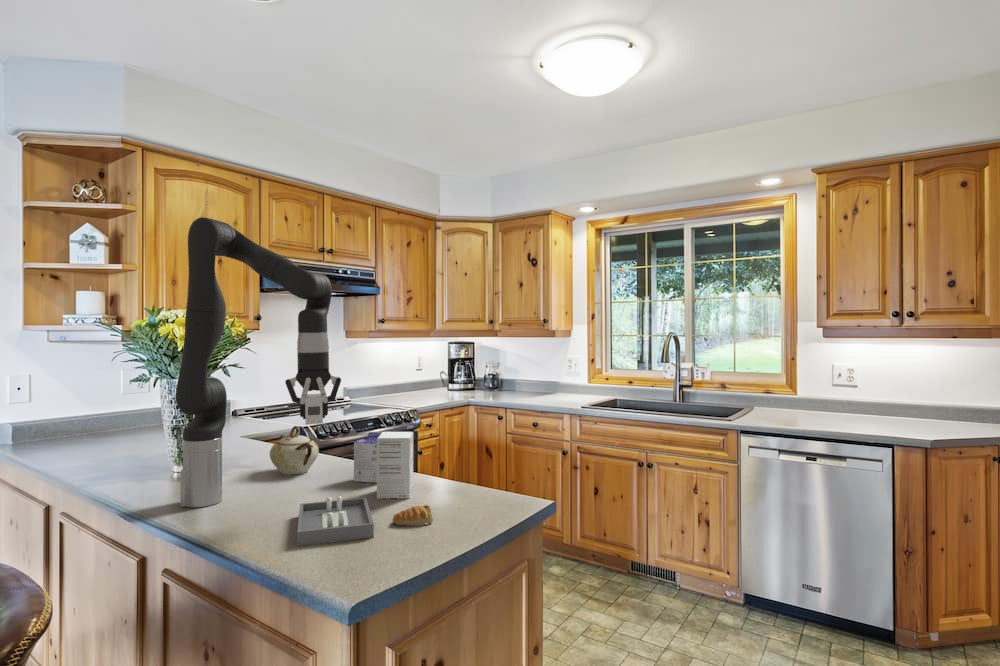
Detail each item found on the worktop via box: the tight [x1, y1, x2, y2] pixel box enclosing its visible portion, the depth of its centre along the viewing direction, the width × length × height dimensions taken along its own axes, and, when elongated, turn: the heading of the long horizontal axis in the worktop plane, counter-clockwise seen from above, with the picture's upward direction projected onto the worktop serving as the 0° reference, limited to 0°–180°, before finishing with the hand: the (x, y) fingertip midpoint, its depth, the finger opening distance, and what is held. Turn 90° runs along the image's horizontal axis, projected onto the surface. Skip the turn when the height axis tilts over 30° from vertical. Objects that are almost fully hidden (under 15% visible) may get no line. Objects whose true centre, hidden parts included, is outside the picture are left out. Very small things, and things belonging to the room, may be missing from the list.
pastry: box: [392, 504, 434, 527], centre depth 131 cm, size 9×7×4 cm
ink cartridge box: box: [353, 431, 380, 484], centre depth 166 cm, size 10×6×14 cm, turn 78°
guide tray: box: [296, 495, 375, 547], centre depth 128 cm, size 16×20×5 cm
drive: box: [305, 393, 324, 425], centre depth 137 cm, size 4×9×6 cm, turn 19°
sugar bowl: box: [269, 425, 320, 476], centre depth 176 cm, size 20×15×15 cm
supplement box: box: [376, 431, 414, 500], centre depth 153 cm, size 10×9×17 cm
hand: (314, 417), depth 138 cm, fingers closed on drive, 4 cm apart
